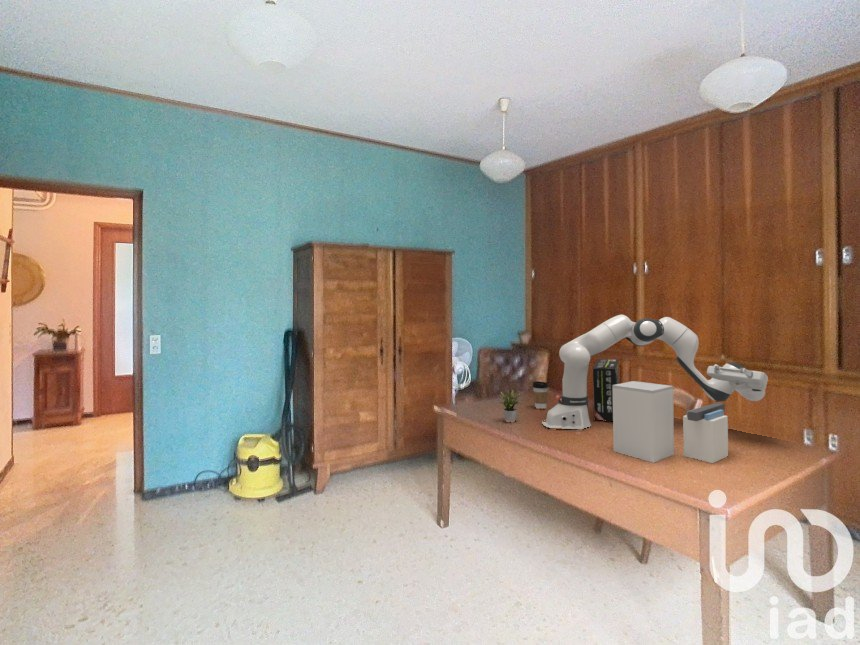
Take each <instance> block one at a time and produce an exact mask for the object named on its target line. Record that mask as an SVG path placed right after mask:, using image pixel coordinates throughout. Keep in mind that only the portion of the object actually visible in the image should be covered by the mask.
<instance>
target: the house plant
mask: <svg viewBox="0 0 860 645" xmlns="http://www.w3.org/2000/svg"><path fill="white" fill-rule="evenodd" d="M500 394H501V395H500ZM500 394H499V397H501V399H503V401H499V402H498V404H502V405H503V406H504V407H505V408H503V409H502V412H503V416H504V421H505V420H509V421H514V420H516V421H517V416H518V409H517V407H516V406H515V405H518V404H520V405H522V402H520V399H518V400H517V398H520V396H521V395H523V394H524V392H523V391H522V392H520V393H518V394H517V395H515V396H514V389H512V390H511V393H510V392H509V390H507V394H506V395H505V393H503V392H502V391H500ZM507 395H508V396H507Z"/></svg>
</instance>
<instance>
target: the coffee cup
mask: <svg viewBox="0 0 860 645" xmlns="http://www.w3.org/2000/svg"><path fill="white" fill-rule="evenodd" d="M548 383H549V382H546V381H536V380H535V381H533V382H532V388H533V401H534V408H535V407H536V408H546V409H547V404H548V403H547V402H548V388H549V384H548Z"/></svg>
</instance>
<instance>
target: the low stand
mask: <svg viewBox="0 0 860 645" xmlns="http://www.w3.org/2000/svg"><path fill="white" fill-rule="evenodd" d="M697 408H698V407H697ZM697 408H693V409H691V410H694V409H697ZM691 410H687V411H686V414H685V415H683V416H682V424H683V425H682V426H683V428H682V431H683V432H682V434H683V437H682V438H683V439H682V440H683V457H685V458H690V459H693V458H694V460H697V459H698V460H697V461H701V460H702V462H706V463H710V464H714V463H716V462H719V461H721V460H723V459H726V458H727V456H728V457H729V420H728V419H729V418H728V417H729V416H728V415H725V412H724V410H721V409H720V410H717V411H714V412H711V413H708V414H705V419H702V420H699V421H692V420H688V411H691Z"/></svg>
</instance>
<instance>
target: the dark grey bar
mask: <svg viewBox="0 0 860 645" xmlns="http://www.w3.org/2000/svg"><path fill="white" fill-rule="evenodd" d="M725 406H726V404H725V403H722V402H714V403H712V404H708V405H704V406H700V407H697V409H696V408H693V409H694V410H693V409H691V411H690V410H687V411H688V420H692V421H699V420H702V419H705V414H708V413H711V412H714V411H717V410H720V409H721V410H724V413H725V412H726V407H725Z"/></svg>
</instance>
